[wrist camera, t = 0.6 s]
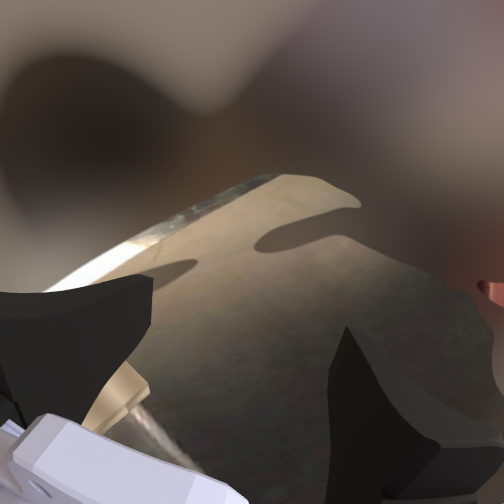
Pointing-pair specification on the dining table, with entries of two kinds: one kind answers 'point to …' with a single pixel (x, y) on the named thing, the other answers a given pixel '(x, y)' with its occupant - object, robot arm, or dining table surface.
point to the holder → (116, 399)
